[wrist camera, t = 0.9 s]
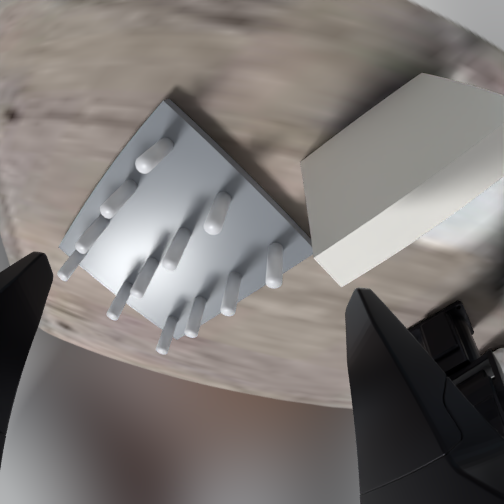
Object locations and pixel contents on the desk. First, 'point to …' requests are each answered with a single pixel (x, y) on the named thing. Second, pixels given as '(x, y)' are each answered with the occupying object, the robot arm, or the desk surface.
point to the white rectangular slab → (401, 172)
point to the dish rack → (180, 229)
